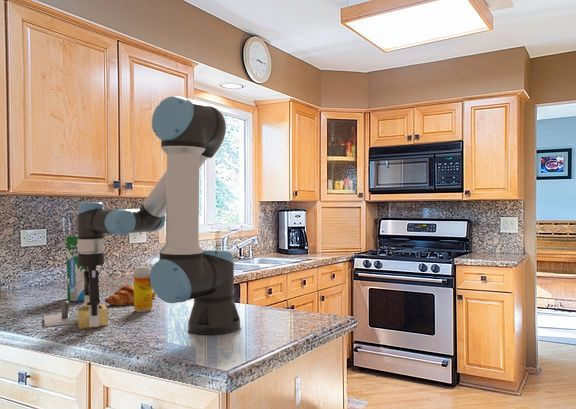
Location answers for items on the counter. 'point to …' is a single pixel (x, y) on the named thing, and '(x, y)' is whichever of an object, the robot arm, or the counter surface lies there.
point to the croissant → (123, 296)
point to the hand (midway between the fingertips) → (91, 321)
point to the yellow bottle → (142, 289)
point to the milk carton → (74, 272)
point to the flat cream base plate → (61, 316)
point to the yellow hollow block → (84, 316)
